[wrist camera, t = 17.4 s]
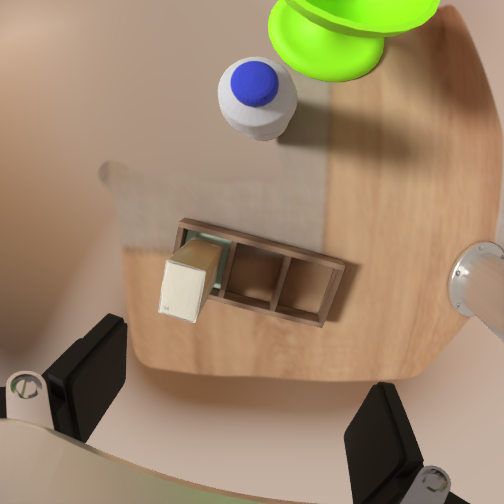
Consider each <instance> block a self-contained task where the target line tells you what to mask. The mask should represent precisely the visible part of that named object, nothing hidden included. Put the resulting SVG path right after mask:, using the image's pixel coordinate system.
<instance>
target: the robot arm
mask: <svg viewBox="0 0 504 504" xmlns="http://www.w3.org/2000/svg"><path fill="white" fill-rule="evenodd" d="M448 295H449V300H450V302H451V305H452V306H453V307H454V309H455V310H456V311H457V312H458V313H460V314H461V315H463V316H467V317H473V316H477V317H478V318H479V319H480V320H481V321H482V322H483V323H484V324H485V325H486V326H488V328H489V329H491V330H492V331H493V332H494V333H495V334H496V335H497V336H498V337H499V338H500V339H501V340H502V341H503V342H504V252H503V251H502V249H501V248H500V247H499V246H497V245H496V244H494V243H491V242H488V241H481V242H477V243H475V244H473V245H471V246H469V247H468V248H467V249H466V250H465V251H464V252H463V253H462V254H461V255H460V256H459V257H458V259H457V261H456V262H455V264H454V266H453V268H452V271H451V274H450V277H449V282H448ZM126 349H127V324H126V323H124V319H123V318H121V317H118V316H116V315H113V314H110V313H109V314H107V315H106V316H105V317H104V318H103V319H102V320H101V321H100V322H99V323H98V324H97V325H96V326H95V327H94V328H92V330H90V331H89V332H88V333H87V334H86V335H85V336H84V337H83V338H80V339H78V340H77V341H75V343H73V344H72V345H71V346H70V347H69V348H68V349H67V350H66V351H65V352H64V353H63V354H62V355H61V356H60V357H59V358H58V359H57V360H56V361H55V362H54V363H53V364H52V365H51V366H50V367H49V368H48V369H47V370H46V371H45V372H44V373H43V374H42V375H41V376H40V375H39V374H37V373H35V372H32V371H20V372H17V373H15V374H13V375H12V376H10V377H9V379H8V381H7V384H6V387H0V504H316V503H303V502H293V501H284V500H277V499H269V498H263V497H257V496H251V495H245V494H240V493H235V492H230V491H225V490H220V489H216V488H212V487H208V486H204V485H200V484H196V483H192V482H189V481H185V480H182V479H178V478H175V477H172V476H168V475H165V474H162V473H159V472H156V471H153V470H150V469H147V468H144V467H142V466H139V465H136V464H133V463H131V462H128V461H126V460H123V459H120V458H118V457H115V456H113V455H110V454H108V453H105V452H103V451H101V450H98V449H96V448H94V447H92V446H89V445H87V444H85V443H86V442H87V440H88V439H89V437H90V435H91V434H92V432H93V431H94V429H95V428H96V426H97V425H98V423H99V421H100V420H101V418H102V417H103V415H104V414H105V412H106V410H107V409H108V408H109V406H110V405H111V403H112V402H113V400H114V399H115V397H116V396H117V394H118V392H119V391H120V389H121V388H122V387H123V385H124V383H125V379H126ZM344 443H345V449H346V455H347V461H348V469H349V475H350V482H351V490H352V497H353V504H470V503H468V502H466V501H465V500H463V499H461V498H460V497H458V496H456V495H455V494H453V493H452V492H450V491H449V490H450V486H451V481H450V478H449V476H448V474H447V473H446V472H445V471H444V470H442V469H441V468H439V467H436V466H425V467H424V465H423V461H424V460H423V457H422V454H421V452H420V449H419V446H418V443H417V441H416V438H415V435H414V433H413V430H412V427H411V425H410V422H409V420H408V417H407V415H406V412H405V410H404V407H403V405H402V402H401V400H400V397H399V395H398V393H397V390H396V388H395V385H394V384H392V383H386V382H379V383H378V384H377V385H373V386H372V388H371V389H370V391H369V393H368V395H367V397H366V398H365V400H364V402H363V403H362V405H361V407H360V408H359V410H358V412H357V413H356V415H355V417H354V418H353V420H352V421H351V423H350V425H349V426H348V428H347V429H346V431H345V434H344Z"/></svg>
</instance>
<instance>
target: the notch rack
mask: <svg viewBox="0 0 504 504" xmlns="http://www.w3.org/2000/svg"><path fill="white" fill-rule="evenodd" d="M187 229H189V230H193V231H197V232H200V233H204V234H208V235H212V236H215V237H219V238H223V239H227V240H230V241H232V242H231V246H230V250H229V254H228V258H227V262H226V266H225V271H224V275H223V279H222V283H221V287H220V289H217V288H212V290H211V292H210V294H209V296H208V298H207V299H210V300H214V301H217V302H221V303H224V304H228V305H232V306H236V307H239V308H243V309H247V310H251V311H255V312H258V313H262V314H266V315H270V316H274V317H278V318H282V319H286V320H290V321H294V322H299V323H303V324H307V325H311V326H316V327H320V328H322V327H323V325H324V322H325V320H326V317H327V315H328V312H329V310H330V307H331V305H332V302H333V299H334V297H335V294H336V291H337V289H338V286H339V283H340V280H341V278H342V275H343V272H344V269H345V267H346V266H345V264H344V263H343V261H342V260H339V259H336V258H332V257H329V256H325V255H321V254H318V253H314V252H311V251H307V250H303V249H300V248H296V247H292V246H289V245H285V244H281V243H278V242H274V241H270V240H266V239H263V238H259V237H255V236H252V235H248V234H244V233H240V232H237V231H233V230H229V229H225V228H221V227H218V226H214V225H210V224H206V223H202V222H198V221H195V220H191V219H187V218H184V219H182V220H181V221H179V226H178V231H177V236H176V242H175V247H174V252H173V255H174V254H175V253H176V252H177V251H178V250H179V249H180V248H181V247H183V246H184V244H185V239H186V234H187ZM238 243H242V244H245V245H249V246H253V247H257V248H260V249H264V250H268V251H271V252H275V253H279V254H283V255H284V258H283V262H282V265H281V268H280V271H279V275H278V278H277V281H276V285H275V288H274V291H273V294H272V297H271V301H270V303H269V302H265V301H262V300H258V299H254V298H250V297H246V296H243V295H239V294H235V293H231V292H228V291H226V289H227V285H228V281H229V277H230V273H231V269H232V265H233V261H234V257H235V253H236V249H237V245H238ZM292 257H294V258H298V259H301V260H305V261H309V262H312V263H316V264H320V265H323V266H327V267H331V268H334V270H333V273H332V276H331V278H330V281H329V284H328V287H327V290H326V292H325V295H324V298H323V300H322V303H321V306H320V308H319V311H318V314H313V313H309V312H305V311H301V310H297V309H293V308H289V307H285V306H281V305H277V303H278V299H279V296H280V293H281V290H282V287H283V284H284V281H285V277H286V274H287V271H288V268H289V265H290V261H291V258H292Z"/></svg>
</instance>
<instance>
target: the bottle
mask: <svg viewBox="0 0 504 504" xmlns="http://www.w3.org/2000/svg"><path fill="white" fill-rule="evenodd" d="M218 98H219V105H220V108H221V111H222V113H223V116H224V117H225V119H226V120H227V121H228V122H229V124H231V125H232V126H233V127H234V128H236V129H237V130H239V131H241V132H244V133H245V134H246V135H247V136H249V137H250V138H253V139H255V140H260V141H268V140H272V139H274V138H276V137H278V136H280V135H281V134H282V133H283V132H284V131H285V129H286V128H287V126H288V123H289V121H290V119H291V118H292V116H293V115H294V112H295V110H296V107H297V98H298V97H297V90H296V87H295V85H294V83H293V81H292V78H291V76H290V74H289V73H288V71H287V70H286V69H285V68H284V67H283V66H282V65H281V64H279V63H277V62H276V61H274V60H271V59H269V58H264V57H249V58H245V59H242V60H239V61H237V62H236V63H234V64H232V65H231V66H230V67H229V68H228V69H227V70H226V71H225V73H224V74H223V76H222V78H221V80H220V82H219V86H218Z"/></svg>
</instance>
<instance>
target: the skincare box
mask: <svg viewBox="0 0 504 504" xmlns="http://www.w3.org/2000/svg"><path fill="white" fill-rule="evenodd" d="M223 249H224V243H223V242H219V241H216V240H213V239H209V238H206V237H202V236H198V235H195V236H194V237H193V238H192V239H191V240H189V241H188V242H187V243H186V244H185V245H184V246H183V247H181V248H180V249H179V250H178V251H177V252H176V253H175V254H174V255H172V256H171V257H170V258H169V259H168V260H167V261H166V265H165V271H164V277H163V282H162V289H161V296H160V303H159V310H158V312H159V313H162V314H165V315H169V316H172V317H175V318H178V319H181V320H185V321H189V322H193V323H195V322H196V320H197V318H198V316H199V314H200V312H201V310H202V308H203V306H204V304H205V302H206V300H207V298H208V296H209V294H210V292H211V290H212V288H213V286H214V284H215V282H216V279H217V275H218V272H219V268H220V264H221V259H222V254H223Z"/></svg>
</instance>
